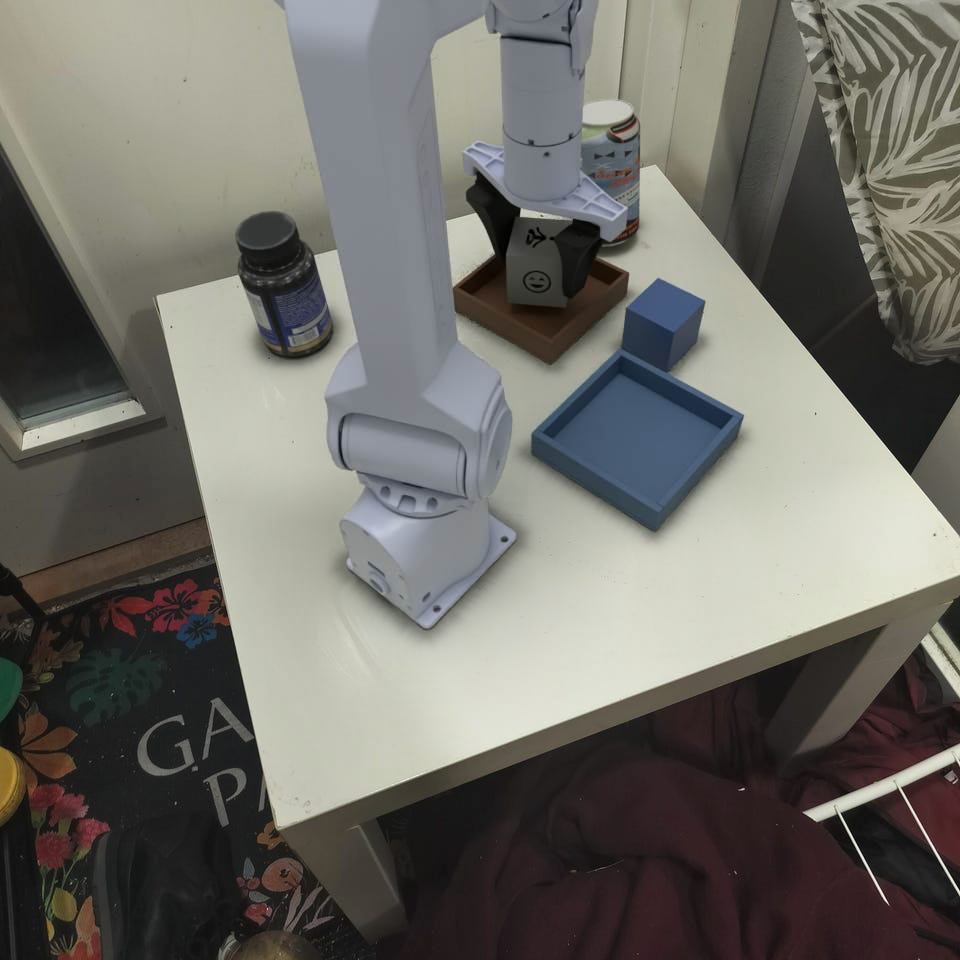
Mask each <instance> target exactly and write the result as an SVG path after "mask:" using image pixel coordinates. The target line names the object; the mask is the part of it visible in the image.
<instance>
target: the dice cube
mask: <svg viewBox="0 0 960 960" xmlns="http://www.w3.org/2000/svg"><path fill="white" fill-rule="evenodd" d="M569 224H570V225H571V224H572V219H571V220H570V219H558V218H543V217H542V218H541V217H530V216H529V217H528V216H520V217H515V221H514V225H513V229H512V233H511V237H510V241H509V245H508V249H507V253H506V272H507V303H516V304H527V305H539V306H551V307H562V308H566V307H567V301H568V298H567V297H565V296H564V294H563V290H562V263H561V258H560V254H559V251H558V248H557V246H556V244H555V242H554V237H555V236H556V235H557V234H559V233H560V232H561V231H562V230H563V229H565V228H566V227H567V226H568V225H569Z"/></svg>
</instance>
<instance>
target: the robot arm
mask: <svg viewBox="0 0 960 960" xmlns="http://www.w3.org/2000/svg"><path fill="white" fill-rule="evenodd" d="M273 2H275V3H276V4H277V5H278V6H279V7H280V9H282V10H283V11H284V14H285V22H286V28H287V33H288V39H289V44H290V45H289V46H290V49H291V54H292V59H293V63H294V67H295V73H296V76H297V81H298V85H299V89H300V95H301V99H302V102H303V107H304V111H305V114H306V121H307V124H308V129H309V133H310V138H311V142H312V146H313V150H314V155H315V156H314V157H315V159H316V164H317V169H318V172H319V178H320V181H321V185H322V191H323V195H324V199H325V204H326V207H327V212H328V217H329V220H330V225H331V230H332V234H333V238H334V243H335V248H336V252H337V257H338V260H339V265H340V269H341V273H342V278H343V282H344V287H345V291H346V295H347V299H348V305H349V309H350V313H351V317H352V321H353V326H354V330H355V334H356V340H357V342H355V343H354V344H353V345H352V346H351V347H349V349H347V350H346V352H345V353H344V354H343V355H342V357H341V358H340V360H339V361H338V363H337V365H336V367H335V369H334V371H333V372H332V375H331V377H330V379H329V381H328V384H327V385H326V386H327V387H326V390H325V392H324V401H325V405H326V413H327V420H326V429H325V430H326V434H325V435H326V436H325V437H326V445H327V449H328V451H329V454H330V456H331V459H332V461H333V463H334V465H335V466H336V467H337V468H338V469H340V470H342V471H348V472H349V471H350V472H352V471H355V472H356V476H357V479H358V482H359V484H360V485H363V486H364V488H363V489H362V492H361V493H360V495H359V497H358V499H357V500H356V501H355V503H354V505H352V507H351V508H349V510H348V511H347V512H346V513H345V514H344V515H343V516H342V518H341V519H340V521H339V530H340V533H341V536H342V539H343V542H344V545H345V547H346V550H347V553H348V556H349V557H348V558H347V559H346V566H347V568H348V569H349V570H350V571H351V572H352V573H354V574H355V575H356V576H358V577H359V578H360V579H361V580H362V581H364V583H366V584H368V585H369V586H370V587H371V588H372V589H374V590H375V591H377V592H378V593H379V594H380V595H381V596H382V597H384V598H385V599H387V600H388V602H390V603H391V604H393V606H395V607H396V608H398V609H399V610H400V611H401V612H403V613H404V615H406V616H408V617H409V618H410V619H411V620H413V622H415V623H416V624H418V625H419V626H420V627H421V628H423V629H426V630H427V629H431V628H432V627H433V626H435V624H436V623H437V622H438V621H439V620H440V619H441V618H443V616H444V615H445V614H446V613H447V612H448V611H449V610H450V609H451V608H452V607H453V606H454V605H455V604H456V603H457V602H458V601H459V600H460V598H462V596H463V595H464V594H466V592H467V591H468V590H470V588H471V587H472V586H473V585H474V584H475V583H476V582H477V581H478V580H479V579H480V578H481V577H482V576H483V575H484V574H485V572H487V571H488V570H489V568H491V566H492V565H493V564H494V563H495V562H496V561H498V559H499V558H500V557H501V556H502V555H503V554H504V553H505V552H506V551H507V550H508V549H509V548H510V547H511V546H512V544H513V543H515V542H516V540H517V533H516V531H515V530H514V529H512V528H511V527H510V526H508V525H506V524H505V523H504V522H502V521H501V520H499V519H498V518H496V517H495V516H493V515H492V514H491V513H489V505H488V497H489V496H491V495H493V493H494V492H495V491H496V488H497V487H498V485H499V483H500V481H501V478H502V476H503V473H504V469H505V466H506V463H507V459H508V455H509V450H510V445H511V440H512V434H513V412H512V409H511V408H510V406H509V404H508V401H507V400H506V395H505V389H504V387H503V384H502V383H503V382H502V375H501V374H500V372H499V371H497V370H496V368H494V367H492V366H491V365H490V364H488V363H487V362H486V361H485V360H484V359H483V358H481V357H480V356H478V355H477V354H476V353H475V352H473V351H472V350H470V348H469V347H467V346H466V345H464V344H463V343H462V342H461V341H460V340H459V339H458V329H457V319H456V311H455V307H454V297H453V287H454V286H453V277H452V276H453V275H452V267H451V258H450V257H451V256H450V245H449V237H448V235H449V234H448V226H447V225H448V224H447V215H446V204H445V194H444V184H443V173H442V172H443V171H442V164H441V152H440V151H441V150H440V142H439V132H438V121H437V110H436V100H435V92H434V91H435V90H434V81H433V70H432V69H433V68H432V59H431V58H432V57H431V55H432V52H433V50H434V47H435V45H436V43H437V41H439V40H440V39H442V38H443V37H444V38H445V37H446V36H448V35H450V34H452V33H454V32H455V31H458V30H459V29H460V30H461V29H462V28H464V27H466V26H468V25H470V24H472V23H473V22H476V21H477V20H479V19H481V18H483V17H484V20H485V21H484V22H485V25H486V30H487V33H488V34H489V35H496V34H498V33H499V34H500V37H499V55H500V57H499V59H500V86H501V117H502V119H501V121H502V146H498V145H494V144H490V143H486V142H484V141H481V140H477V141H475V142H474V143H472V144H470V145H469V146H468V147H466V148H465V149H464V150H462V151H461V154H462V166H463V174H466V175H468V176H471V177H476V178H475V180H474V183H473V185H471V186H470V187H468V188H467V189H466V191H465V200H466V202H467V204H469V206H470V207H471V208H472V209H473V211H474V212H475V213H476V215H477V216H478V218H479V219H480V221H481V223H482V226H483V227H484V229H485V232H486V234H487V237H488V239H489V241H490V244H491V247H492V250H493V254H495V256H496V258H497V261H499V262H500V263H502V264H503V263H505V262H506V253H507V249H508V245H509V241H510V237H511V233H512V229H513V225H514V221H515V217H521V211H522V210H527V211H531V212H537V213H541V214H547V215H553V216H556V217H563V218H566V219H567V218H568V219H571V220H572V224H571V225H570V224H569V225H568V226H567V227H566V228H565V229H563V230H562V231H561V232H560V233H559V234H557V235H556V236H555V237H554V242H555V244H556V246H557V248H558V251H559V254H560V258H561V263H562V290H563V294H564V296H565V297H567V298H569V299H572V298H573V297H574V296H575V295H576V294H577V293H578V292H579V291H581V290H582V289H583V288H584V287H585V283H586V280H587V277H588V274H589V272H590V269H591V267H592V264H593V262H594V260H595V258H596V257H598V254H599V252H600V250H601V248H603V247H602V245H603V244H604V242H605V241H606V240H607V241H609V242H611V241H612V240H614V239H615V238H616V237H617V236H619V235H620V234H621V233H622V232H623V231H624V230H625V229H626V222H627V213H628V207H626V206H624V205H622V204H620V203H618V202H616V201H615V200H613V199H612V198H611V197H610V196H609V195H607V194H606V193H605V192H604V191H603V190H602V189H601V188H600V187H599V186H598V185H596V184H595V183H594V182H593V181H592V180H591V179H590V178H589V177H588V176H586V175H585V174H584V173H583V172H582V171H581V170H580V168H581V167H582V158H581V140H582V122H583V104H585V103H584V101H585V99H584V98H585V81H586V65H587V63H588V61H589V59H590V57H591V54H592V47H593V42H594V28H595V27H594V26H595V21H596V17H597V13H598V8H599V5H600V4H599V2H600V0H273ZM503 540H506V542H504V541H503ZM436 609H439V611H437V612H436V611H435V610H436Z"/></svg>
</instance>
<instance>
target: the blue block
mask: <svg viewBox="0 0 960 960" xmlns="http://www.w3.org/2000/svg"><path fill="white" fill-rule="evenodd" d="M706 302H707V301H706V300H705V299H703V298H701V297H699V296H697V295H694V294H692V293H691V292H688V291H686V290H684V289H682V288H680V287H678V286H676V285H674V284H672V283H670V282H668V281H666V280H664V279H662V278H660V277H657V278H656V279H655V280H654V281H653V282H652V283H651V284H650V285H648V286H647V288H645V289H644V290H643V291H642V292H641V293H640V294H639V295H637V297H636V298H635V299H633V300H632V302H630V303H629V304H628V305H627V306H626V307H625V312H624V320H623V330H622V337H621V339H622V340H621V346H620V348H621V349H623V350H625V351H626V352H628V353H630V354H632V355H634V356H636V357H638V358H639V359H641V360H643V361H645V362H647V363H649V364H651V365H652V366H654V367H656V368H658V369H660V370H662V371H664V372H665V373H668V372H669V371H670V370H671V369H672V368H673V367H674V365H676V363H678V362H679V361H680V360H681V359H682V358H683V357H684V356H685V354H686V353H687V352H689V350H690V349H692V347H693V346H694V345H695V344H696V343H697V342H698V338H699V333H700V329H701V325H702V320H703V315H704V310H705V306H706Z"/></svg>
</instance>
